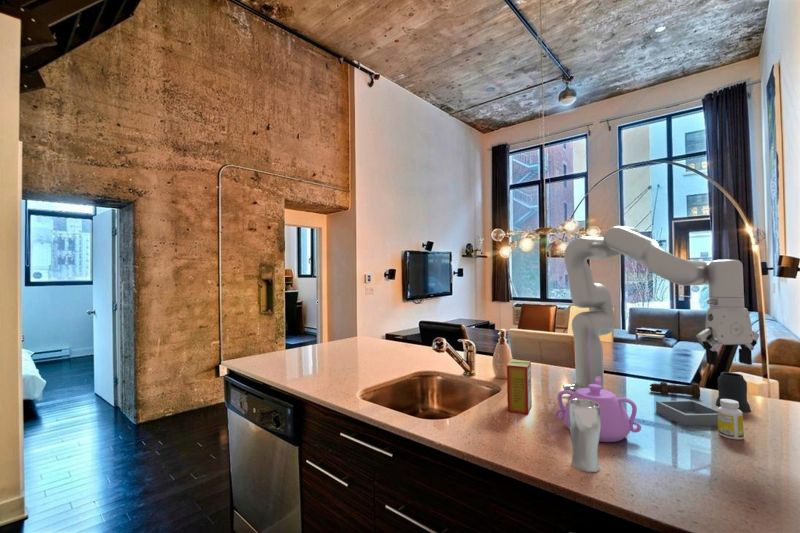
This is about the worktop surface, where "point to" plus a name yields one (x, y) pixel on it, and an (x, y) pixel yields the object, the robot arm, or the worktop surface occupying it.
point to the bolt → (676, 389)
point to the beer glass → (585, 433)
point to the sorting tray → (688, 413)
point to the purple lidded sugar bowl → (603, 411)
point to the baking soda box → (519, 387)
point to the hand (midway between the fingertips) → (728, 364)
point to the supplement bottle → (730, 419)
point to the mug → (733, 389)
